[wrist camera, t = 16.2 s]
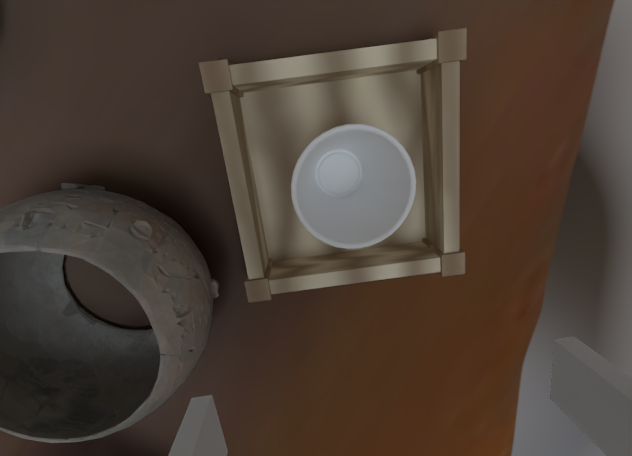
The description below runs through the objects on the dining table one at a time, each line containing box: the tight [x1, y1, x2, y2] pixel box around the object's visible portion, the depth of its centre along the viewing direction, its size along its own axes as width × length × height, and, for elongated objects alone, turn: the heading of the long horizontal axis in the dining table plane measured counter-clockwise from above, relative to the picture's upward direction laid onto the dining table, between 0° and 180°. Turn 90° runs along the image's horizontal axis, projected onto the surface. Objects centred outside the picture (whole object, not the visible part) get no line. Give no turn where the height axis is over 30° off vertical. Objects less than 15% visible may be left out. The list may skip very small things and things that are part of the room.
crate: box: [199, 28, 466, 303], centre depth 33 cm, size 23×23×6 cm
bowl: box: [0, 183, 219, 443], centre depth 32 cm, size 23×23×15 cm
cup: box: [291, 124, 416, 249], centre depth 31 cm, size 10×10×11 cm
